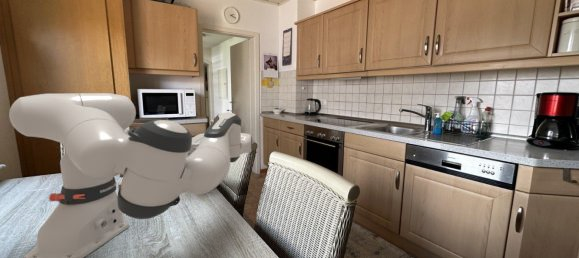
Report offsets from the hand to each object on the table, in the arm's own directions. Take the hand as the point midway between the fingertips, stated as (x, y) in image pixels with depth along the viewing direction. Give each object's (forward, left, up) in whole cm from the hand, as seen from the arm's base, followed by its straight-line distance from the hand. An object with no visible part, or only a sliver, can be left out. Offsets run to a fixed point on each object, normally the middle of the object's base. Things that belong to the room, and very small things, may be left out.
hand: (179, 142), depth 102 cm
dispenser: (+9, +16, -19) cm, 26 cm away
